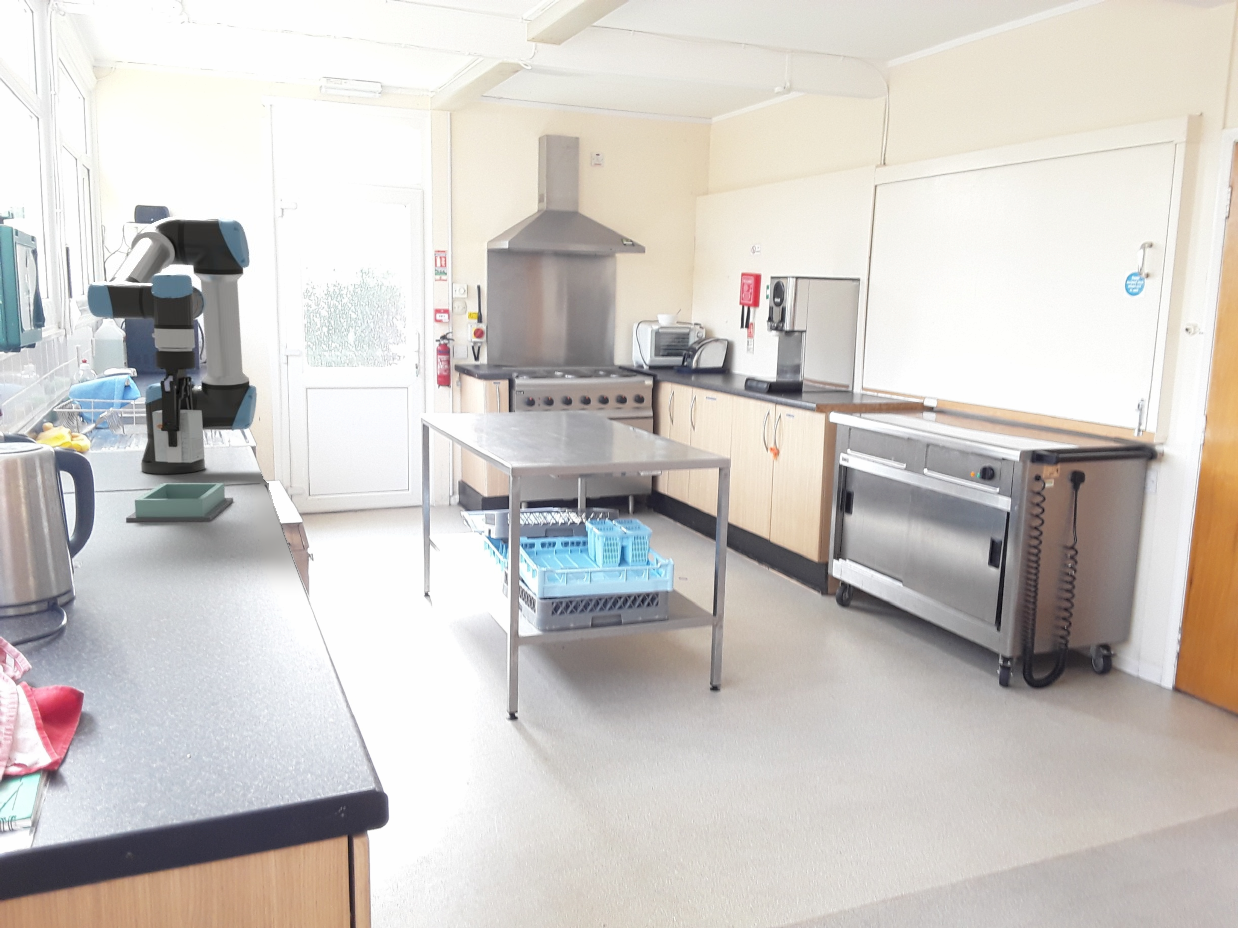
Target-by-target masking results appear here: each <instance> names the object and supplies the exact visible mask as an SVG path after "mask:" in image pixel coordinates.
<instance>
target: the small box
mask: <svg viewBox="0 0 1238 928" xmlns="http://www.w3.org/2000/svg"><path fill="white" fill-rule="evenodd" d="M152 415H153V430H154V445H155V460H156V461H162V462H168V461H167V440H166V431H161V428H162V410H160V411H155V412H152ZM179 431H181V440H182V462H189V463H191V462H194V461H197V460H200V459H204V460H205V445H204V443H205V442H204V430H203V424H202V411H201V410H180V423H179Z"/></svg>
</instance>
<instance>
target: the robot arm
mask: <svg viewBox="0 0 1238 928" xmlns="http://www.w3.org/2000/svg"><path fill="white" fill-rule="evenodd" d="M246 235H247V234H246V232H245V229H244V227H243V225H242V223H240V221H238V220H234V219H226V218H221V217H219V218H214V217H213V218H211V217H186V216H185V217H184V216H172V217H166V218H163V219H160V220H158V221H155V222H152V223H151V224H149V225H147V226H145V227H144V228H142V229H141V230H139V232H137V234H136V235H135V236H134V238H133V239H132V241H131V247H130V252H129V253H128V254H127V256H126V258H125V259H124V260H123V261H122V263H121V265H119V267H118V268H117V270H116V272H115V273H114V274H113V275H112V277H111V278H110V280H109V281H105V280H103V281H95V282H92V283H90V284H89V285H88V289H87V295H86V296H87V297H86V298H87V305H88V309H89V311H90V313H91V314H92V315H93V316H94V317H96V318H103V319H104V318H105V319H106V318H107V319H128V320H129V319H130V320H132V319H134V320H135V319H137V320H140V319H141V320H146V319H147V320H153V328H154V329H153V331H154V332H153V333H151V337H152V338H153V339H154V347H155V348H157V349H158V350H156V351H155V352H154V358H155V360H154V361H155V367H156V369H158V370H165V377H164V378H163V380H160V382H157V383H153V384H152V383H151V384H150V385H148V386H147V387H146V388H145V401H144V405H145V417H146V434H147V435H146V437H147V442H146V445H145V448H144V452H143V455H142V459H141V462H140V466H141V472H144V473H146V474H156V475H157V474H158V475H167V474H168V475H169V474H170V475H174V474H186V473H193V472H199V471H203V470H205V469H206V461H205V458H204V459H200V460H197V461H194V462H191V463H189V462H182V440H181V431H179V423H180V410H201V411H202V424H203V431H204V430H205V431H206V430H208V431H209V430H210V431H212V430H213V431H218V430H219V431H220V430H221V431H235V430H239V431H240V430H247V429H249V428H251V426H252V424H253V422H254V419H255V414H256V407H257V396H258V394H257V387H256V386H254V385H253V384H252V385H251V384H250V378H249V377H248V376H247V375H246V374H245V373H244V372H243V358H242V357H243V355H242V354H243V353H242V341H241V339H242V338H241V337H242V336H241V323H240V304H239V287H238V282H239V279H240V278H242V276H243V275H244V269H246V268H248V267H249V265H250V250H249V243H248V240H247V236H246ZM170 265H179V266H180V265H183V266H192V267H193V274H194V275H195V276H196V277H197V278H198V279H199V280H200V285H201V286H200V288H201V290H200V289H198V287H195V286H193V283H192V282H193V281H192V278H191V275H188V274H183V273H181V274H179V273H161V272H162V270H164V269H167V268H168V267H169V266H170ZM200 316H203V318H202V319H203V331H204V346H205V362H206V374H205V375H204V376H203V377H202V378H201V384H200V385H196V382H195V381H194V379H192V376H188V375H187V370H193V369H195V368H196V365H197V364H196V352H195V351H194V350H193V349H195V348H196V343H195V342H196V341H195V327H194V326H195V325H194V320H195V319H198V318H199V317H200ZM160 410H162V428H161V431H166V440H167V461H168V462H162V461H156V460H155V445H154V430H153V415H152V412H155V411H160Z"/></svg>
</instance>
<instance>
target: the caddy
mask: <svg viewBox="0 0 1238 928" xmlns="http://www.w3.org/2000/svg"><path fill="white" fill-rule="evenodd" d="M233 502H234V497H226V496H225V483H224V482H211V483H210V482H206V483H205V482H204V483H203V482H186V483H185V482H181V483H180V482H179V483H178V482H175V483H174V482H168V483H167V482H166V483H165V482H164V483H161V484H158V485H157V486H156V487H154V488H152V489H150V490H149V491H147V492H146V493H144V494H143V495H140V496H139V497H138V498H136V499H135V500H134V512H133V513H132V514H130V515H128V516H127V517H126V518H125V523H136V522H137V523H143V522H144V523H147V522H148V523H149V522H150V523H151V522H153V523H155V522H160V523H161V522H164V523H166V522H167V523H168V522H172V523H173V522H176V523H177V522H211V521H212V520H213V519H215V518H216V517H217V516H218V515H219V514H220V513H222V512H223V511H224V510H225V509H226V508H228V507H229V505H231V504H232V503H233Z"/></svg>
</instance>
